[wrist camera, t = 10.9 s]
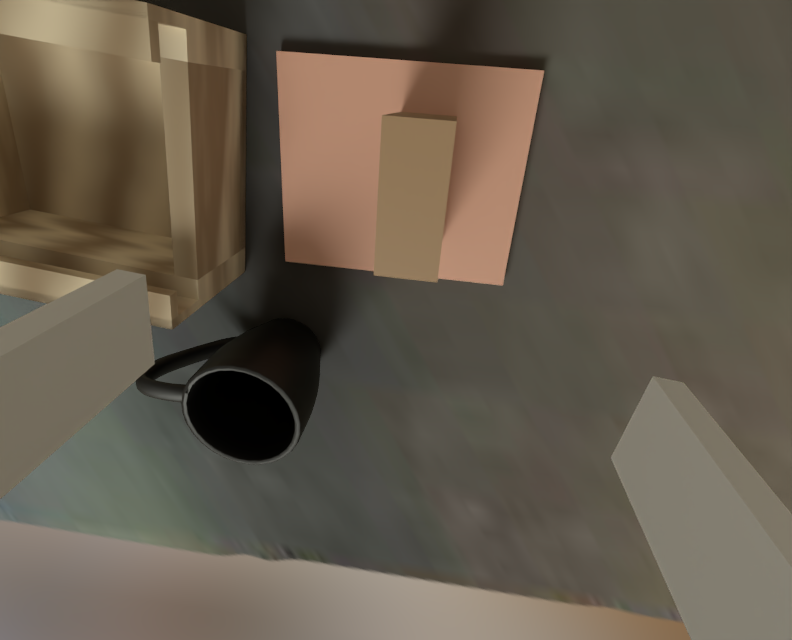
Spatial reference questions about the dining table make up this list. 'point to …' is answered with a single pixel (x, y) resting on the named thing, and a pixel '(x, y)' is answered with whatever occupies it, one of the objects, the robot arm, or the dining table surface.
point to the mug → (246, 390)
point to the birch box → (121, 151)
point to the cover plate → (354, 154)
